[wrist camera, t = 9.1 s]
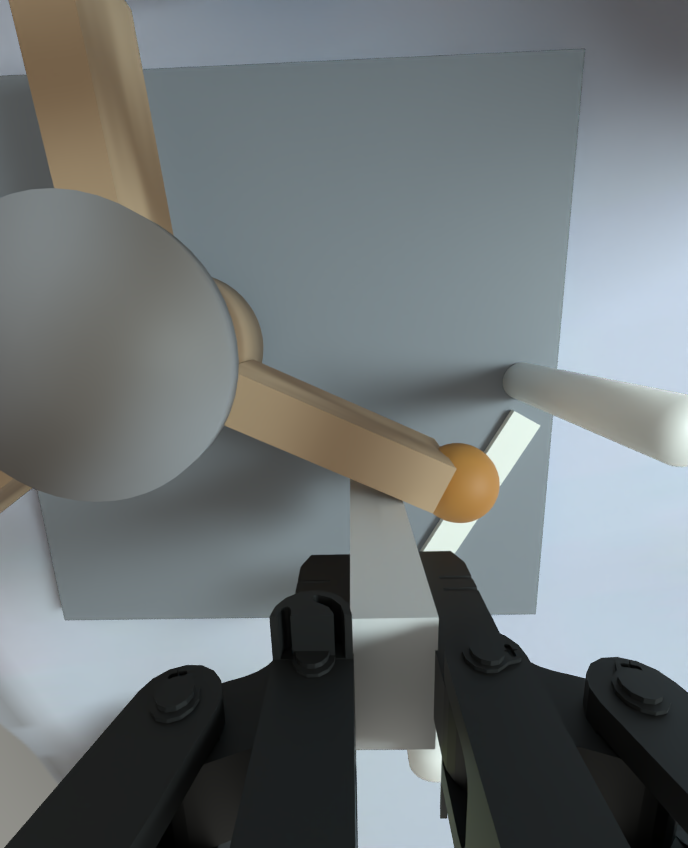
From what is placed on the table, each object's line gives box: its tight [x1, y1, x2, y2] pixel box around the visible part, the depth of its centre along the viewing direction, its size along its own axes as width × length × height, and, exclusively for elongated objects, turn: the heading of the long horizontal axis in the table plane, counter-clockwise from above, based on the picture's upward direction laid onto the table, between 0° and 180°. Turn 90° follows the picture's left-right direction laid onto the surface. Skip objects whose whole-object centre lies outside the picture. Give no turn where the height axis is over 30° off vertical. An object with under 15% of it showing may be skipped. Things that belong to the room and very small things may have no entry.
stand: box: [0, 49, 688, 782], centre depth 12 cm, size 21×21×9 cm
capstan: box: [0, 0, 500, 523], centre depth 12 cm, size 16×16×7 cm
